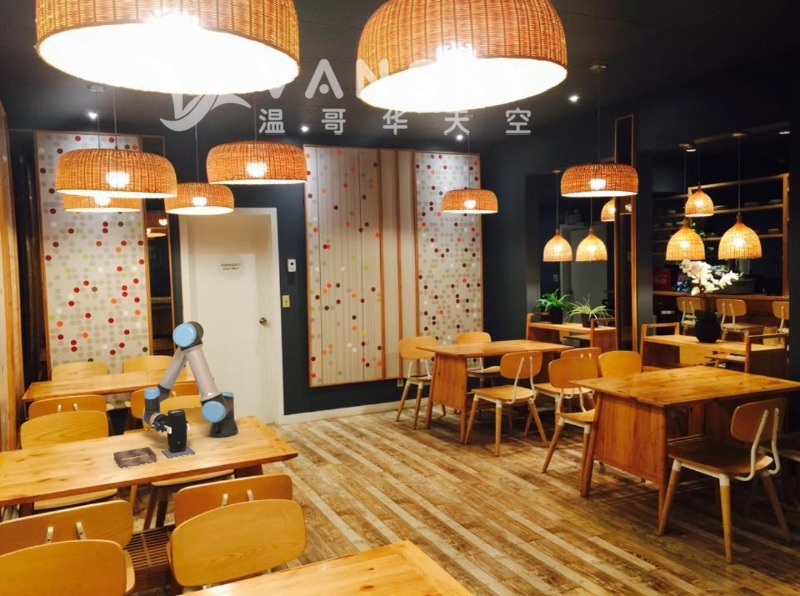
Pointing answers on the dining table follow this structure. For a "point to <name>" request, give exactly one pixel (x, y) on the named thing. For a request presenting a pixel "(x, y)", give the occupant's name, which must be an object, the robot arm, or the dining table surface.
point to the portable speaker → (177, 430)
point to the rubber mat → (178, 452)
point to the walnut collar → (134, 453)
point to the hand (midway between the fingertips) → (179, 428)
